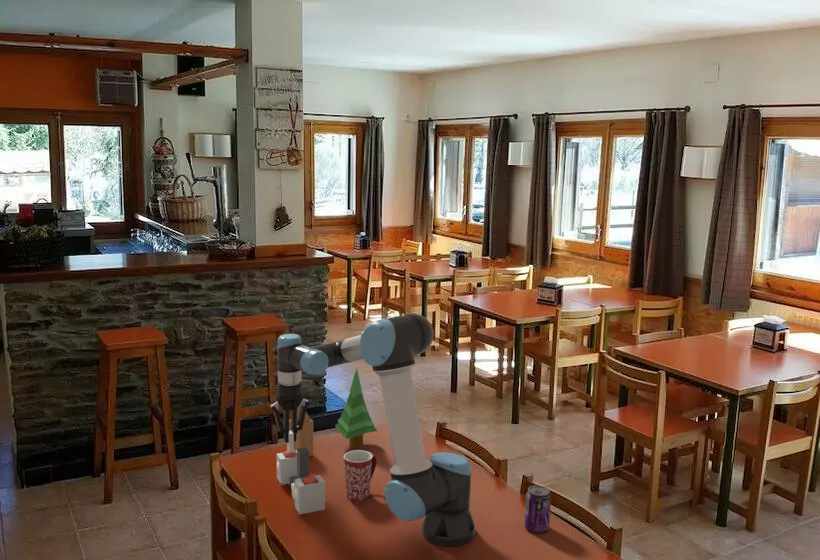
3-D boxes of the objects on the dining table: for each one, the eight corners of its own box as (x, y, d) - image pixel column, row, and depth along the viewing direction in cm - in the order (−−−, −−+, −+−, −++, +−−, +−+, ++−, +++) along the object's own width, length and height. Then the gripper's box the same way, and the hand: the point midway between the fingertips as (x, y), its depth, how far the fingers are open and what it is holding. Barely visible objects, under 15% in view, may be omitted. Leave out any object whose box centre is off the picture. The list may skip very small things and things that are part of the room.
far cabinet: (304, 481, 241) (304, 455, 239) (280, 485, 237) (280, 459, 236) (300, 475, 245) (300, 449, 244) (276, 479, 242) (275, 453, 240)
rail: (310, 503, 226) (310, 496, 225) (304, 505, 225) (304, 497, 225) (296, 483, 240) (295, 475, 239) (290, 484, 239) (289, 476, 238)
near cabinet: (325, 509, 223) (325, 481, 221) (298, 514, 219) (298, 486, 218) (319, 502, 227) (319, 474, 225) (294, 507, 224) (293, 479, 222)
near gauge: (317, 488, 221) (317, 479, 221) (305, 491, 220) (305, 481, 219) (313, 483, 224) (313, 474, 224) (302, 485, 223) (302, 476, 222)
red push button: (297, 461, 239) (297, 453, 239) (286, 463, 238) (286, 454, 237) (294, 457, 242) (294, 449, 242) (283, 459, 241) (283, 450, 240)
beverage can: (543, 537, 209) (545, 498, 207) (520, 530, 213) (522, 491, 211) (552, 526, 215) (554, 488, 213) (530, 519, 219) (532, 482, 217)
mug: (358, 505, 225) (358, 464, 223) (337, 496, 231) (337, 456, 229) (385, 491, 235) (386, 452, 232) (365, 482, 241) (365, 444, 238)
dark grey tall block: (315, 500, 228) (315, 451, 225) (296, 504, 225) (296, 454, 222) (309, 492, 233) (309, 444, 230) (291, 495, 231) (290, 447, 228)
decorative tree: (382, 441, 274) (383, 364, 269) (362, 457, 260) (363, 376, 255) (350, 435, 280) (350, 359, 274) (329, 450, 266) (329, 370, 260)
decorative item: (303, 449, 266) (303, 397, 262) (314, 455, 261) (313, 402, 257) (288, 454, 261) (287, 401, 258) (298, 460, 257) (298, 406, 253)
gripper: (305, 376, 241) (306, 443, 246) (266, 381, 236) (267, 449, 240) (312, 383, 235) (313, 452, 239) (272, 388, 229) (273, 458, 234)
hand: (290, 451), depth 240 cm, fingers closed
